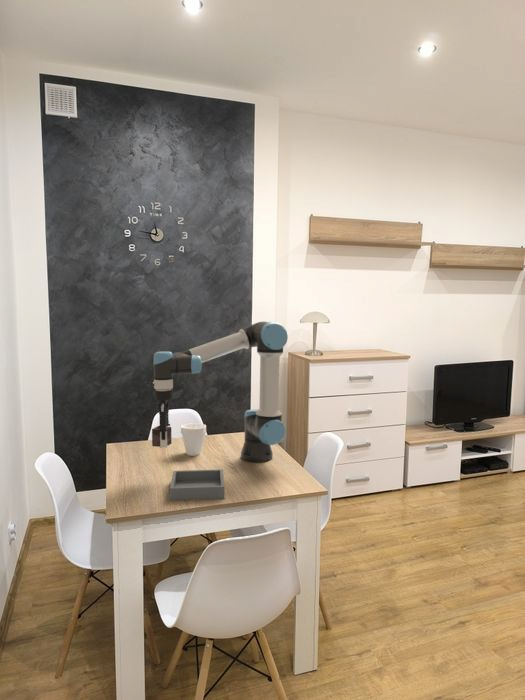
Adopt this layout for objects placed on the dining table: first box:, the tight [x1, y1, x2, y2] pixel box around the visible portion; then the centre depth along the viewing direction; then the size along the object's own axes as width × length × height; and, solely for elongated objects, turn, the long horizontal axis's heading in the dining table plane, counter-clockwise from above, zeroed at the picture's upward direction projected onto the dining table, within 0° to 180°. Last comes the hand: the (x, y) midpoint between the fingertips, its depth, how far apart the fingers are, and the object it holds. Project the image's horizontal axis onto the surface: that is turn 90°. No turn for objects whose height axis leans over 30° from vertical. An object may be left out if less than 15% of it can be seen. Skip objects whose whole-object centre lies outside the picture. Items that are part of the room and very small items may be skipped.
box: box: [151, 425, 172, 448], centre depth 203 cm, size 6×6×7 cm
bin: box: [169, 468, 225, 502], centre depth 192 cm, size 20×20×5 cm
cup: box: [180, 422, 207, 457], centre depth 239 cm, size 12×12×14 cm
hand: (164, 444), depth 203 cm, fingers closed on box, 7 cm apart
